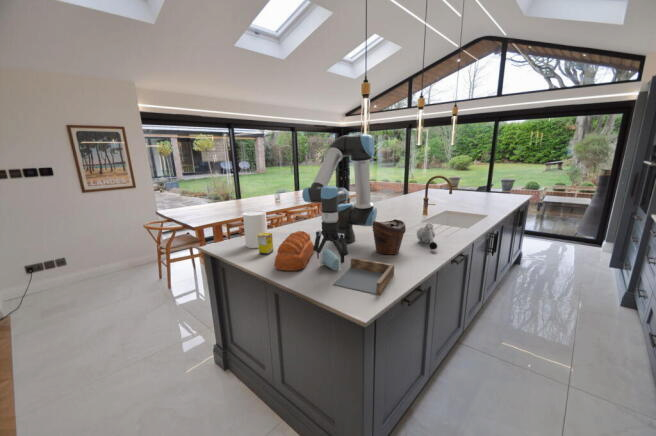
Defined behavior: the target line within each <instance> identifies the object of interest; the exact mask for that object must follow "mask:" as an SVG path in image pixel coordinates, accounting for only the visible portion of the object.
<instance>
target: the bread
mask: <svg viewBox="0 0 656 436" xmlns="http://www.w3.org/2000/svg"><path fill="white" fill-rule="evenodd" d="M313 248H314V244H313V241H312V240H311V235H310V234H309V233H307V232H306V231H304V230H303V231H302V230H300V231H299V230H298V231H296V232H292V233H290V234H289V235H288V236H287V237H286V238H285V239H284V240H283V241H282V243H281V244H280V245H279V246H278V248H277V253H276V255H275V258H274V267H275V269H277V270H278V271H279V270H280V271H290V272H292V271H296V272H297V271H299V270H300V271H301V270H304V269H305V268H306V267H307V263H309V261H310V260H311V258H312V256H313V254H314V252H315V251H314V250H313Z"/></svg>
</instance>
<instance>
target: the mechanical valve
mask: <svg viewBox="0 0 656 436" xmlns="http://www.w3.org/2000/svg"><path fill="white" fill-rule="evenodd" d="M416 237H417V239H418V242H419V241H420V242H421V241H422V242H423V243H425V244H427V243H429V244H428V245H429V249H431V250H436V249H437V248H438V244H437V242H435V240H434V238H435V237H436V232H435V230H434V225H433V224H432V223H430V222H429V223H428V222H427V223H426V224H425V226H424V227H420V228H419V229H418V230H417V231H416Z"/></svg>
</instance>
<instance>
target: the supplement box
mask: <svg viewBox="0 0 656 436" xmlns="http://www.w3.org/2000/svg"><path fill="white" fill-rule="evenodd" d="M258 245H259V248H258V252H259V254H260V255H270V254H271V253H273V252H274V240H273V233H271V232H267V233H261V234H259V235H258Z"/></svg>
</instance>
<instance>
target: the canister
mask: <svg viewBox="0 0 656 436" xmlns="http://www.w3.org/2000/svg"><path fill="white" fill-rule="evenodd" d="M242 218H243V229H244V238H245V247H246V248H248V249H259V245H258V235H259V234H261V233H268V224H267V222H268V221H267V212H266V211H262V210H251V211H246V212H243V214H242Z"/></svg>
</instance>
